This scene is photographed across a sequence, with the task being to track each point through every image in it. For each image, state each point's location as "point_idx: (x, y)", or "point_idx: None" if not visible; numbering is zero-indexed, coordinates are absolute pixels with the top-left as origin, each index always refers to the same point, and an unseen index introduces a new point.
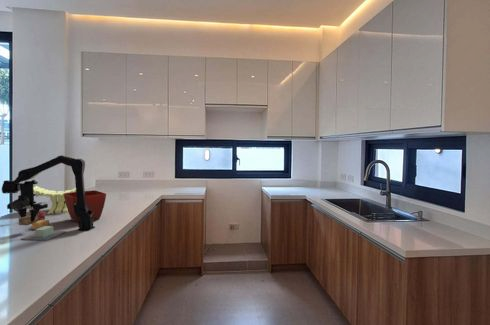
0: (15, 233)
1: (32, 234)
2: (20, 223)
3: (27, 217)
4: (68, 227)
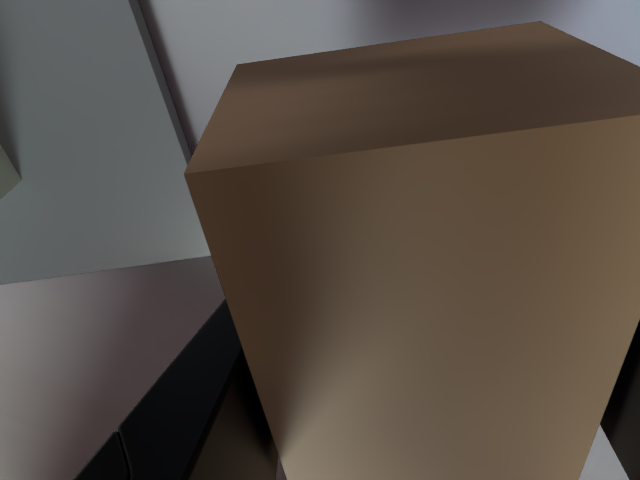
0: (603, 41)
1: (104, 8)
2: (493, 45)
3: (383, 344)
4: (87, 426)
